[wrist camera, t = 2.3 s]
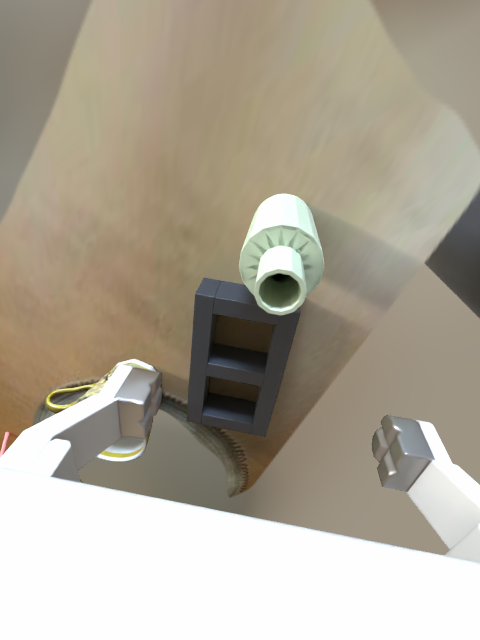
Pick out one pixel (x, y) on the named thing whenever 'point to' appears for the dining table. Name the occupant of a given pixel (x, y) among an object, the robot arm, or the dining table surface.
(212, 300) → the holder
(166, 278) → the dining table surface
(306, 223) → the bottle
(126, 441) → the ceramic cup
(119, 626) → the robot arm
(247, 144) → the dining table surface
